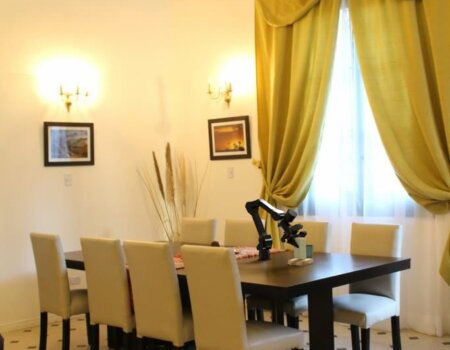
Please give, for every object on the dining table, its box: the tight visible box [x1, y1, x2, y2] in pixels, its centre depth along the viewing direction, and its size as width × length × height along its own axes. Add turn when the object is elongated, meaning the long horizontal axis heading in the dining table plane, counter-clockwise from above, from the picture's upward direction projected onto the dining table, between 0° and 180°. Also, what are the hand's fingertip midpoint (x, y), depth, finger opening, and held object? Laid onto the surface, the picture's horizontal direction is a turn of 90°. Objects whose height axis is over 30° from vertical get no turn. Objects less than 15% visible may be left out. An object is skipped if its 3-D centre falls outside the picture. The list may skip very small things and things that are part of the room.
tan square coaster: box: [287, 258, 314, 267], centre depth 375 cm, size 11×11×3 cm
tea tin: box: [293, 237, 307, 259], centre depth 375 cm, size 5×5×12 cm
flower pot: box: [306, 244, 315, 259], centre depth 389 cm, size 9×9×9 cm
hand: (301, 247), depth 374 cm, fingers closed on tea tin, 5 cm apart
